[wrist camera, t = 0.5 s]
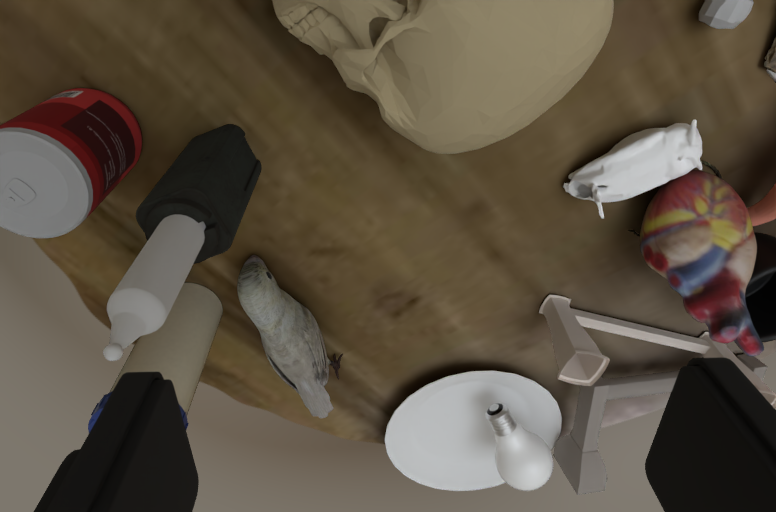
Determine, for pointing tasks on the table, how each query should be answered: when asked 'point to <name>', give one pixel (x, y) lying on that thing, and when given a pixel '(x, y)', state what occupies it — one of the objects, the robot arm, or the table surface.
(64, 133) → the canned food
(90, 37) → the table surface
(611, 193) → the bird figurine
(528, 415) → the plate
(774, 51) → the pottery fragment
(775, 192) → the pink curved piece
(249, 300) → the decorative bird
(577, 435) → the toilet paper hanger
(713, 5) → the bone
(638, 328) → the toilet paper hanger
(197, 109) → the table surface
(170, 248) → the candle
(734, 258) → the anatomical model
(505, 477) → the lightbulb
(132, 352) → the jar
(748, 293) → the mug
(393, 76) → the skull
